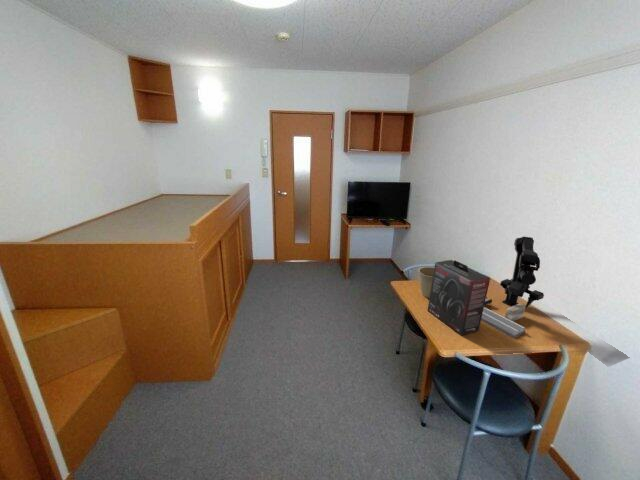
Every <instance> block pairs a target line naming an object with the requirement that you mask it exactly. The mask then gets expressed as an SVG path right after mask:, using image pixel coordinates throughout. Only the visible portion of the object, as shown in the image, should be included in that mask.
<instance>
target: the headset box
mask: <svg viewBox="0 0 640 480" xmlns="http://www.w3.org/2000/svg"><path fill="white" fill-rule="evenodd" d="M433 268H434V273H433V280H432V286H431V292H430V298H428V299H429V300H428V306H427V312H429V313H430V314H432V315H433V316H435V317H436V318H437V319H438V320H439V321H441V322H442V323H444V324H445V325H446V326H448V327H449V328H451V329H452V330H453V331H454V332H456V333H458V335H460V336H464V335H468V334H473V333H476V332H479V331H480V326H481V322H482V321H481V318H482V313H483V309H484V307H485V305H484V304H485V300H486V297H487V295H488V290H489V286H490V283H491V282H490V281H491V277H490V276H488V275H486V274H483V273H482V272H479V271H477V270H475V269H472V268H471V267H468V265H466V264H464V263H462V262H459V261H458V260H452V259H449V260H441V261H436V262H435V263H434V267H433Z"/></svg>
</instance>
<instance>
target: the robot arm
mask: <svg viewBox="0 0 640 480" xmlns="http://www.w3.org/2000/svg"><path fill="white" fill-rule="evenodd" d="M534 243H535V240H534V238H533V237H531V236H521V237H517V238H515V240H514V243H513V246H514V251H515V253H516V255H515V256H516V257H515V263H514V268H513V273H512V278H510V279H509V278H507V279H504V280H501V281H500V283H499V285H500V286H501V287H502V288H503V289H504V294H505V296H506V297H505V299H504V300H502V301H501V302H502V303H504V304H506V305H508V306H510V307H512V306H514V305H517V304H519V303H518V301H519V297H520V298H523V296H524V294H528V297H527V302H526V305H525V306H526V307H525V309H527V308H529V307H530V306H531V304H532V303H533V302H535V301H540V300H542V299H544V297H545V295H544V292H541V291H539V290H537V289H534V290H533V291H532V290H530V288H531V286H530V285H533V284H535V283H536V281H537V277H536V275H535V273H534V272H535V271H536V272H538V271H539V270H540V268H541V259H540V257H539V255H538V252H536V251H534Z"/></svg>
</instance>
